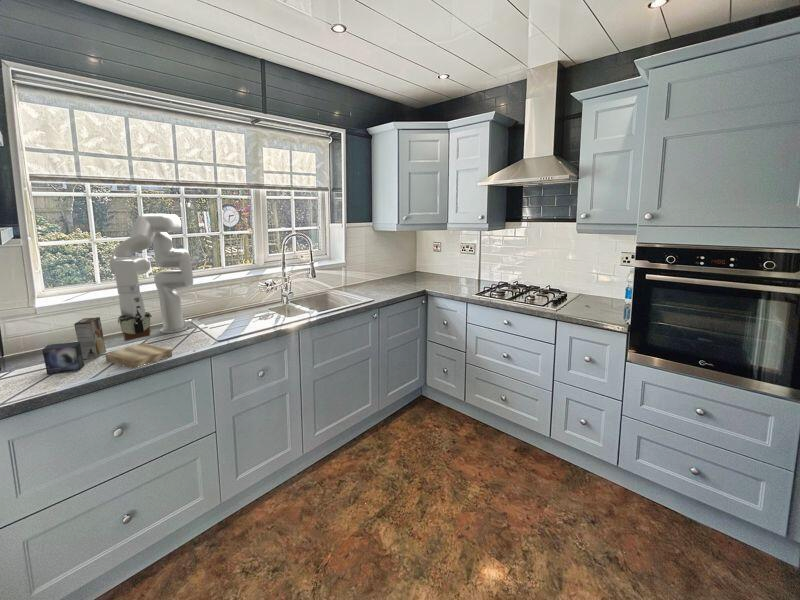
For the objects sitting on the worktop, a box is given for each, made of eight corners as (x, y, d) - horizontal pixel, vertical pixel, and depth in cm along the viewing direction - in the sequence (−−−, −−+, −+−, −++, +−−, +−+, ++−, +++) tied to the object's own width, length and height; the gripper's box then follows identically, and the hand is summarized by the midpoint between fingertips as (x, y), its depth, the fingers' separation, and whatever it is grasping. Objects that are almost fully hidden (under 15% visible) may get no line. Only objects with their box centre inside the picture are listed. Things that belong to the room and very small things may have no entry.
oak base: (145, 349, 183) (144, 342, 182) (172, 356, 173) (171, 349, 173) (106, 360, 169) (105, 353, 168) (133, 368, 160) (132, 361, 159)
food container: (147, 331, 176) (145, 309, 174) (154, 335, 172) (151, 312, 170) (115, 338, 166) (112, 315, 164) (121, 342, 163) (118, 318, 160)
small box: (46, 375, 154) (40, 349, 152) (52, 369, 160) (47, 344, 158) (80, 370, 158) (75, 345, 156) (85, 365, 164) (80, 340, 162)
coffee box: (89, 352, 179) (83, 318, 175) (106, 351, 180) (100, 316, 177) (80, 359, 170) (73, 323, 166) (98, 358, 172) (91, 322, 168)
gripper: (150, 289, 164) (156, 331, 168) (126, 286, 172) (133, 326, 176) (131, 292, 157) (137, 336, 161) (107, 289, 165) (114, 331, 169)
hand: (135, 331), depth 168 cm, fingers closed on food container, 5 cm apart
